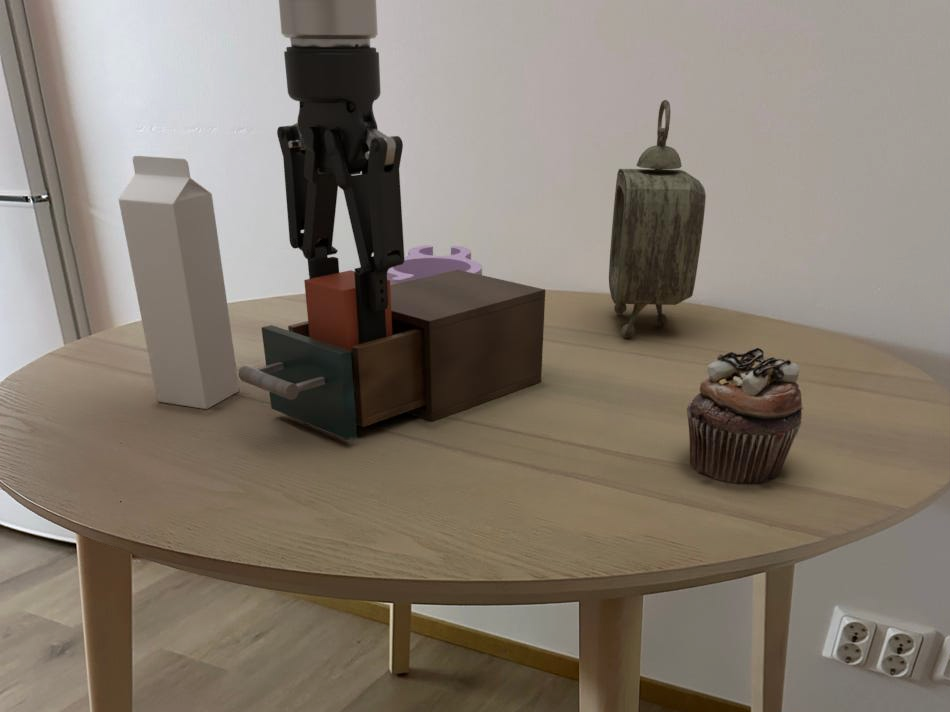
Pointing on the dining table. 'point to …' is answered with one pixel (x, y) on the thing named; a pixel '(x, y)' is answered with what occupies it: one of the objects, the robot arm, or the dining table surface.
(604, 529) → the dining table surface
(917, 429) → the dining table surface
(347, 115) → the robot arm
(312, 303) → the block
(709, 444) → the cupcake
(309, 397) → the drawer
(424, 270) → the clip
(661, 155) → the tabletop clock
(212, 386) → the milk
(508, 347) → the cabinet
